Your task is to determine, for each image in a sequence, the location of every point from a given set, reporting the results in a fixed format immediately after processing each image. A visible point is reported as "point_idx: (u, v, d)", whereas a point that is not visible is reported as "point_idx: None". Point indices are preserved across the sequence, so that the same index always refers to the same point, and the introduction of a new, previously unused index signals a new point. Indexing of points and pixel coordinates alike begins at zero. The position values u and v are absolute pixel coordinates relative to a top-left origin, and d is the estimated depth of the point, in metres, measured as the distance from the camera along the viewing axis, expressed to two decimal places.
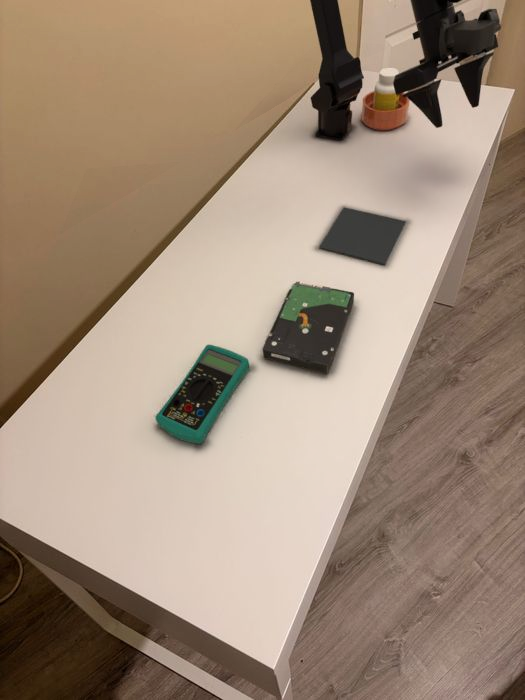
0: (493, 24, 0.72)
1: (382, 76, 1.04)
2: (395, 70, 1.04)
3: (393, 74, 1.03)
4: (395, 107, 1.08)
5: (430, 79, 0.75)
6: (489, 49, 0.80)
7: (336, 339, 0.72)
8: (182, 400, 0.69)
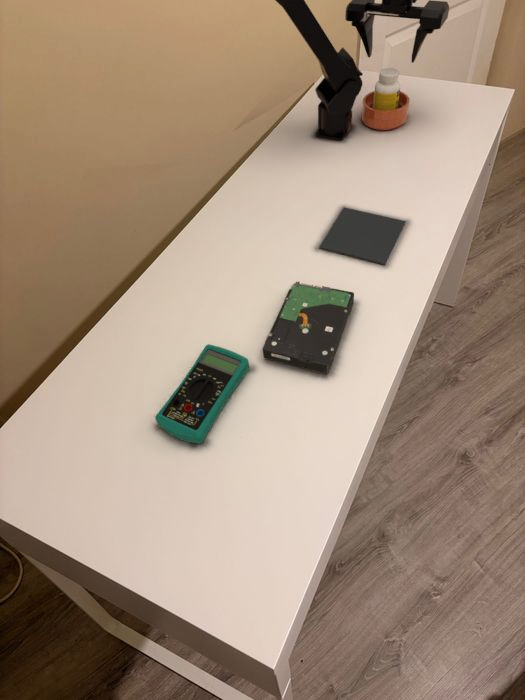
0: None
1: (382, 76, 1.04)
2: (395, 70, 1.04)
3: (393, 74, 1.03)
4: (395, 107, 1.08)
5: None
6: None
7: (336, 339, 0.72)
8: (182, 400, 0.69)
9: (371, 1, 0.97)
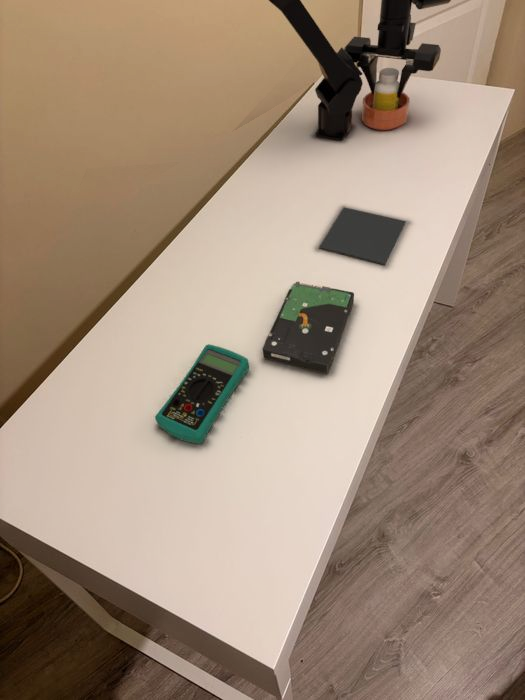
0: None
1: (382, 76, 1.04)
2: (395, 70, 1.04)
3: (393, 74, 1.03)
4: (395, 107, 1.08)
5: None
6: None
7: (336, 339, 0.72)
8: (182, 400, 0.69)
9: (367, 43, 1.03)
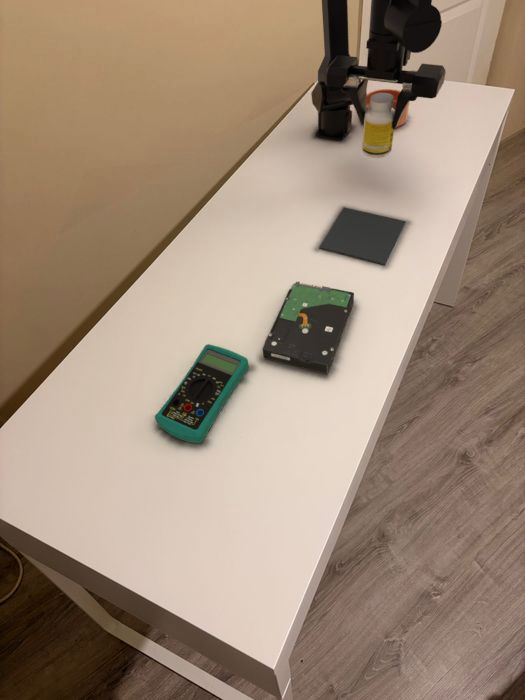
0: None
1: (373, 104, 0.84)
2: (389, 95, 0.85)
3: (387, 101, 0.84)
4: (390, 139, 0.89)
5: None
6: None
7: (336, 339, 0.72)
8: (182, 400, 0.69)
9: (354, 63, 0.83)
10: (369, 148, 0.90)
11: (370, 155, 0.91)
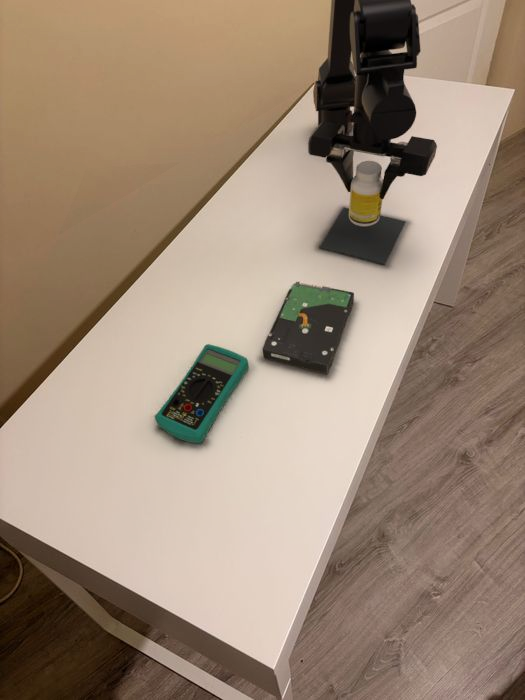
0: None
1: (360, 174, 0.78)
2: (377, 165, 0.79)
3: (374, 171, 0.78)
4: (378, 209, 0.83)
5: None
6: None
7: (336, 339, 0.72)
8: (181, 400, 0.69)
9: (340, 131, 0.77)
10: (355, 217, 0.84)
11: (357, 223, 0.85)
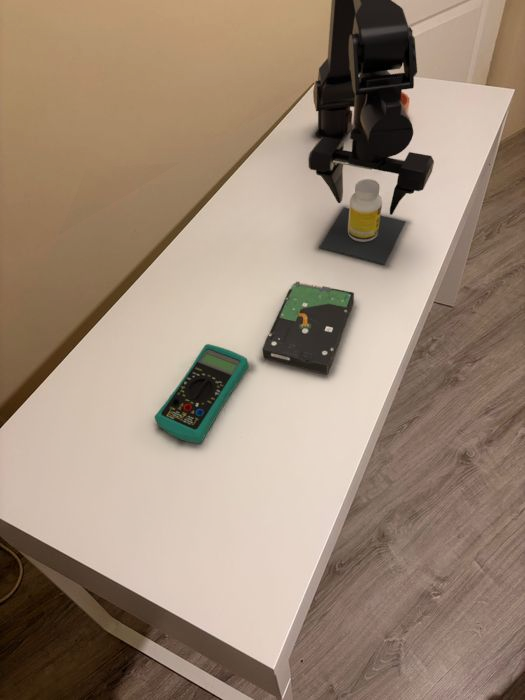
0: None
1: (359, 193, 0.81)
2: (375, 183, 0.82)
3: (372, 190, 0.81)
4: (376, 225, 0.86)
5: None
6: None
7: (336, 339, 0.72)
8: (181, 400, 0.69)
9: (339, 146, 0.79)
10: (354, 233, 0.87)
11: (356, 239, 0.88)
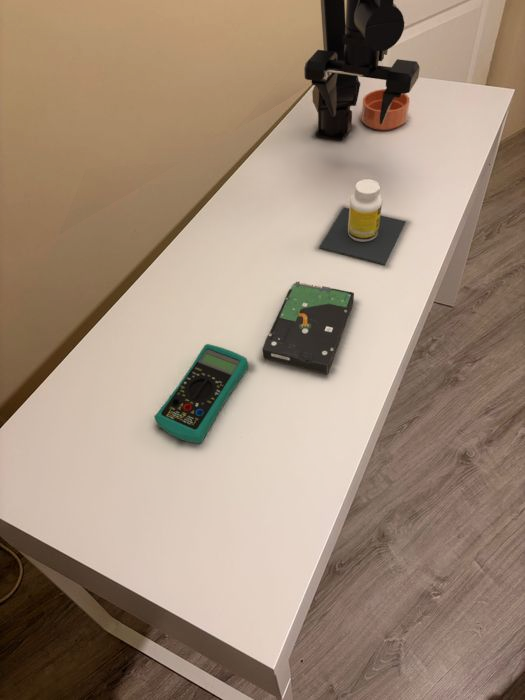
0: None
1: (359, 192, 0.81)
2: (375, 183, 0.82)
3: (372, 190, 0.81)
4: (376, 225, 0.86)
5: None
6: None
7: (336, 339, 0.72)
8: (181, 400, 0.69)
9: (333, 57, 0.86)
10: (354, 233, 0.87)
11: (356, 239, 0.88)
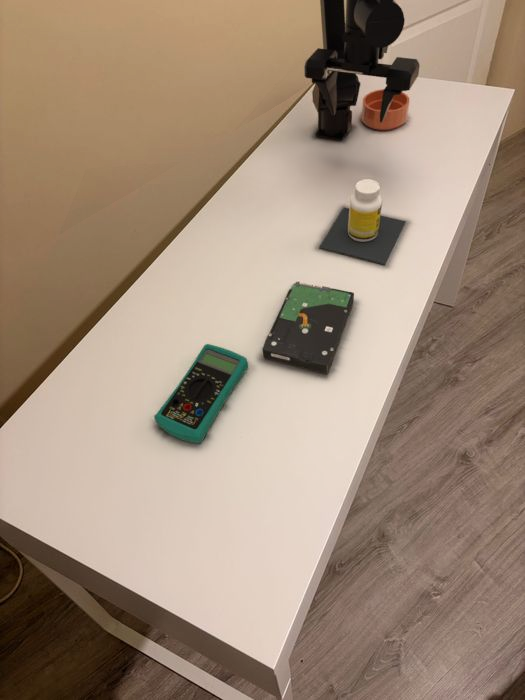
0: None
1: (359, 192, 0.81)
2: (375, 183, 0.82)
3: (372, 190, 0.81)
4: (376, 225, 0.86)
5: None
6: None
7: (336, 339, 0.72)
8: (181, 400, 0.69)
9: (333, 56, 0.86)
10: (354, 233, 0.87)
11: (356, 239, 0.88)
